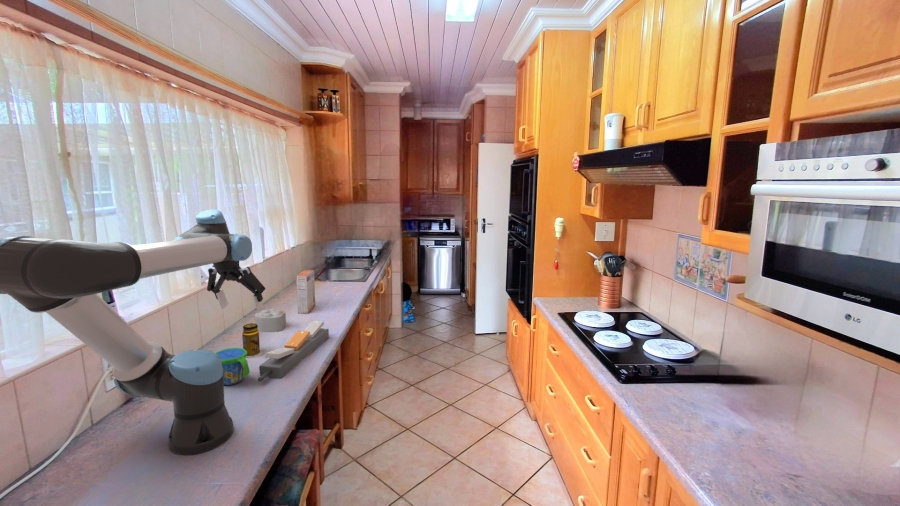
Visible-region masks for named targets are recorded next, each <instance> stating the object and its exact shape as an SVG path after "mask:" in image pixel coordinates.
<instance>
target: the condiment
mask: <svg viewBox="0 0 900 506" xmlns="http://www.w3.org/2000/svg"><path fill="white" fill-rule="evenodd" d="M241 337H242V349H245V350H246V351H247V356H246V358H251V357H256V356H261V355H263V353H262V351H261V348H260V331H258V325H257V324H255V322H254V323H246V324H244V325H243V326H242V335H241Z"/></svg>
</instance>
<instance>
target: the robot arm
mask: <svg viewBox="0 0 900 506" xmlns="http://www.w3.org/2000/svg"><path fill="white" fill-rule="evenodd" d="M195 220H196V221H195V222H196V224H195V225H194V226H193V227H192V228H190V229H188V230H186V231H184V232H183V233H181V234H179V235H177V236H176V237H175V238H174V239H172V240H167V241H158V242H150V243H149V242H148V243H142V244H134V245H133V244H130V243H128V242H124V241H116V242H93V241H81V240H72V239H60V238H59V239H57V238H45V237H41V238H40V237H33V236H30V235H18V236H8V237H4V238H0V295H8V296H10V297H11V298H12V299H13V300H15V301H16V302H18V303H19V304H20V305H22V306H23V307H25V309H27V310H28V311H30V312H32V313H34V314H35V313H37V314H38V313H40V314H41V313H46V314H47V315H49V316H50V317H51V318H52V319H54V320H55V321H56V322H57V323H59V324H60V325H61V326H62V327H64V329H66V331H67V330H68V331H69V332H70V333H71V334H72V335H74V337H76V338H77V339H79V340H80V341H81V342H82V343H83V344H85V346H87V347H88V348H89V349H91V350H92V352H94V353H95V354H97V355H98V356H99V357H100V358H102V359H103V360H104V361H105V362H106V363H108V364H109V365H111V367H112V376H113V377H114V380H113V382H114V386H115V387H116V389H117V390H119V391H120V392H121V393H123V394H126V395H128V396H130V397H135V398H147V399H152V400H153V399H155V400H159V401H165V402H166V401H167V402H171V403H172V404H173V405H172V407H173V413H174V414H173V415H174V416H173V417H174V418H173V421H172V424H171V427H170V431H169V434H168V437H167V438H168V448H169V450H170V451H171V452H173V454H177V455H183V456H184V455H185V456H186V455H187V456H189V455H197V454H201V453H205V452H208V451H211V450H213V449H215V448H217V447H219V446H221V445H223V444H224V443H225V442H227V441H228V440H229V439H230V438H231V437H232V435H233V433H234V431H235V430H234V421H233V419H232V417H231V416H230V414H229V412H228V409H227V406H226V405H225V401H226V400H225V386H224V381H223V367H222V362H221V358H220V357H219V356H218V355H217V354H216V352H214V351H211V350H207V349H197V350H194V349H191V350H186V351H182V352H180V353H179V352H178V353H177V354H171V353H169V352H168V351H167V350H166V349H165V348H164V347H162V345H160V343H158V342H156V341H152V340H151V341H150V340H148V341H147V340H146V339H145V338H143V336H141V335H140V334H139V333H138V332H137V330H135V328H134V327H132V326H131V325H130V324H129V323H128V322H127V321H126V320H125V319H124V318H122V316H121V315H120V314H119V313H118V312H117V311H115V310H114V308H112V307H111V305H109V303H107V302H106V301H105V300H104V299H103V298H102V297H101V296H100V295H99V294H101V293H106V292H110V291H114V290H118V289H122V288H127V287H130V286H133V285H136V284H137V283H138V282H139V280H140V279H146V278H150V277H156V276H160V275H165V274H170V273H174V272H180V271H183V270H188V269H192V268H199V267H203V266H207V265H211V266H210V268H208V270H207V272H208V281H207V286H206V287H207V288H206V291H208V292H212V293H213V294H214V295H215V299H216V300H217V301H218V302H219V305H220V307H221V309H225V308H226V307H227V306H228V305H229V302H228V300H227V297H226V295H225V294H226V293H225V292H224V289H223V288H222V286H223V285H224V283H225V281H227V282H228V281H232V282H237V283H238V284H241V285H242V286H243V287H244V288H246V289H247V290H249V292H251V293H252V298H253V301H254V304H255V307H256V310H257V311H260V312H261V311H262V309H263V307H265V305H264V303H263V300H264V298H263V295H262V294H263V293H264V291H265V290H266V287H265V285H264V284H263V283H261V281H260V280H259V279H258V278H257V277H256V275H255V274H254V273H253V272H252V270H251V268H250V266H247V267H243V268H242V267H241V266H240V262H241V261H246V260H247V259H249V258H250V256H251V255H252V252H253V242H252V239H251V238H250V237H248V236H247V235H244V234H238V233H230V230H229V227H228V224H227V220H226V218H225V217H224V214H223V212H222V211H221V210H219V209H206V210H203V211H200V212H199V213H197V214H196V215H195ZM212 264H213V265H212ZM217 274H218V275H219V278H218V280H217ZM216 281H217V282H216Z"/></svg>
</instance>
